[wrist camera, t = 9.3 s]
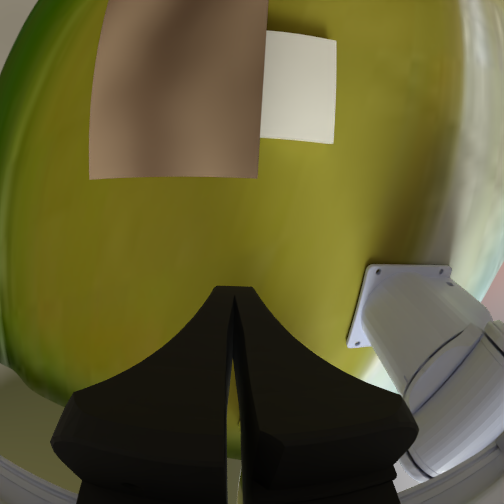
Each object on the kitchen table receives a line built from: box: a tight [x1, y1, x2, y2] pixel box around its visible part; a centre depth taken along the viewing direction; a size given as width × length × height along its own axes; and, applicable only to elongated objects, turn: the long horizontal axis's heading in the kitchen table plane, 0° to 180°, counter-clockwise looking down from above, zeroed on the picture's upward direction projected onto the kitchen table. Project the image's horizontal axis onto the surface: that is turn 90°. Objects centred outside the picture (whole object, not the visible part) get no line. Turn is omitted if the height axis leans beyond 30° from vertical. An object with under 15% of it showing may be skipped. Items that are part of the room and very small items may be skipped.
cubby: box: [89, 0, 268, 179], centre depth 13 cm, size 9×12×4 cm
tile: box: [260, 30, 336, 144], centre depth 14 cm, size 12×7×2 cm, turn 87°
